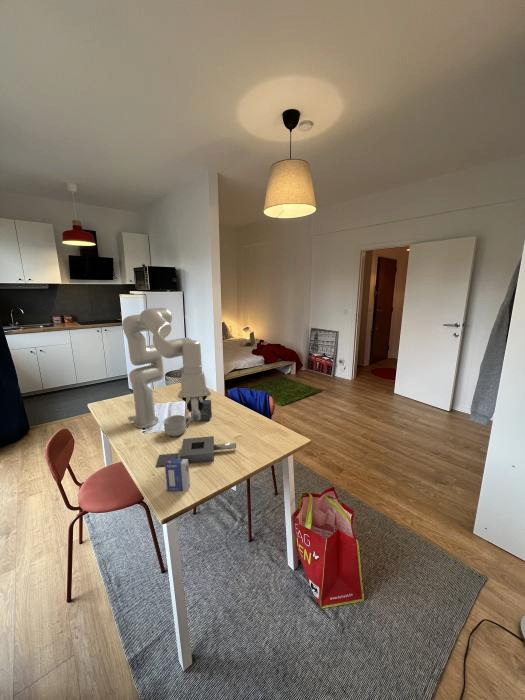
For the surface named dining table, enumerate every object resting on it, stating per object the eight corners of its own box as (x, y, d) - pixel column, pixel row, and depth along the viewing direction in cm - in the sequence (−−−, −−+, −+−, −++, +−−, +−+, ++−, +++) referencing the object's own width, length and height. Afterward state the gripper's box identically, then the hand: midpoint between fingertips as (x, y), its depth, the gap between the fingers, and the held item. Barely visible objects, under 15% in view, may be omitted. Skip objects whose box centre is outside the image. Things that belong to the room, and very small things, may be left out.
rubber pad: (155, 467, 120) (155, 465, 120) (159, 456, 128) (159, 454, 128) (175, 465, 121) (175, 463, 121) (178, 454, 129) (177, 453, 129)
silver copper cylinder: (190, 421, 123) (189, 395, 121) (191, 417, 127) (189, 392, 125) (200, 420, 124) (198, 394, 121) (200, 416, 128) (199, 391, 125)
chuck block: (180, 464, 122) (179, 456, 121) (184, 446, 135) (183, 438, 134) (237, 458, 125) (237, 450, 125) (235, 441, 139) (234, 434, 138)
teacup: (166, 440, 140) (165, 425, 138) (163, 431, 150) (161, 416, 148) (194, 434, 146) (193, 419, 145) (189, 425, 156) (188, 411, 154)
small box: (212, 416, 166) (211, 399, 163) (209, 421, 160) (208, 404, 157) (194, 415, 167) (193, 398, 164) (190, 420, 161) (189, 403, 158)
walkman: (167, 491, 106) (164, 462, 103) (169, 486, 109) (167, 457, 106) (188, 491, 106) (186, 462, 103) (190, 486, 109) (188, 458, 106)
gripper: (170, 373, 116) (174, 415, 120) (212, 371, 118) (214, 412, 122) (173, 368, 123) (176, 408, 127) (212, 366, 126) (214, 405, 130)
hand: (195, 410), depth 125 cm, fingers closed on silver copper cylinder, 4 cm apart
